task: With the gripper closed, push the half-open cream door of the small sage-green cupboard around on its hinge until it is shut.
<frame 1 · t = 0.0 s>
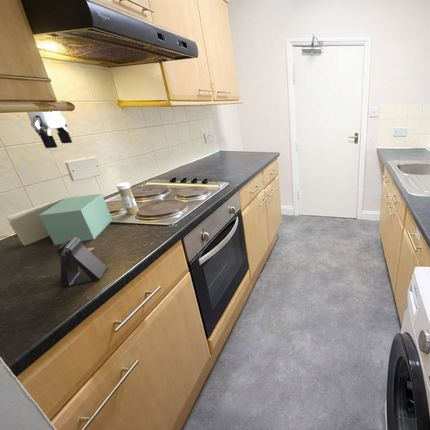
hand: (59, 145, 96), 31 cm above the worktop, tool pointing down, fingers open, 9 cm apart
cabinet door: (42, 220, 99), point 6 cm above the worktop, hinge at 35.0°
sprinkles bottle: (133, 213, 118), on the worktop
phone stand: (86, 278, 76), on the worktop
cabinet: (86, 231, 102), on the worktop
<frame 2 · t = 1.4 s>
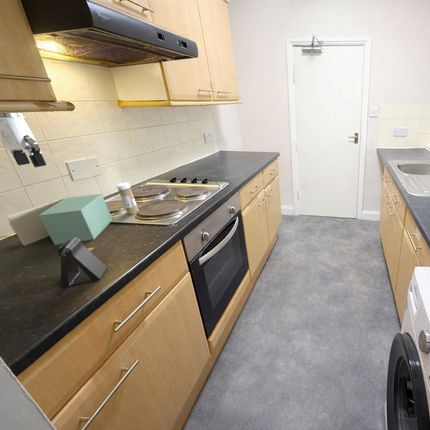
hand: (32, 165, 94), 26 cm above the worktop, tool pointing down, fingers open, 9 cm apart
nothing on the worktop moved.
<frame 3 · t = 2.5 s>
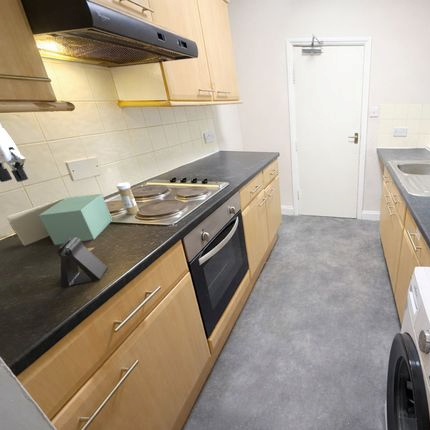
hand: (14, 180, 93), 21 cm above the worktop, tool pointing down, fingers open, 5 cm apart
nothing on the worktop moved.
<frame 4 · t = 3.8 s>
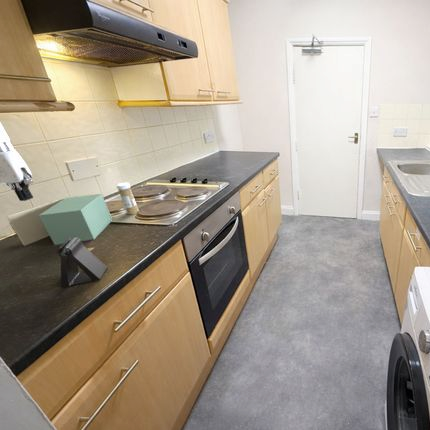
hand: (27, 199, 96), 14 cm above the worktop, tool pointing down, fingers closed
nothing on the worktop moved.
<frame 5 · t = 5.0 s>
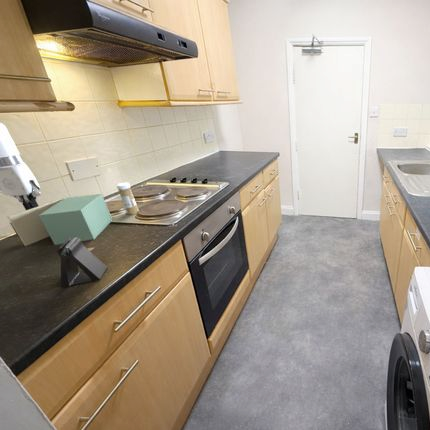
hand: (34, 211, 96), 10 cm above the worktop, tool pointing down, fingers closed
cabinet door: (42, 220, 99), point 6 cm above the worktop, hinge at 32.9°, touching gripper
everything else where it was.
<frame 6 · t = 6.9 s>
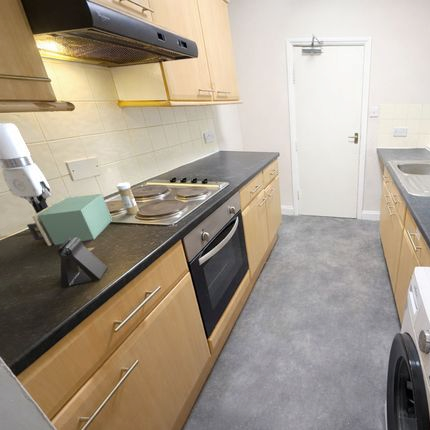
hand: (43, 212, 95), 10 cm above the worktop, tool pointing down, fingers closed
cabinet door: (51, 221, 98), point 6 cm above the worktop, hinge at 2.8°, touching gripper
everything else where it was.
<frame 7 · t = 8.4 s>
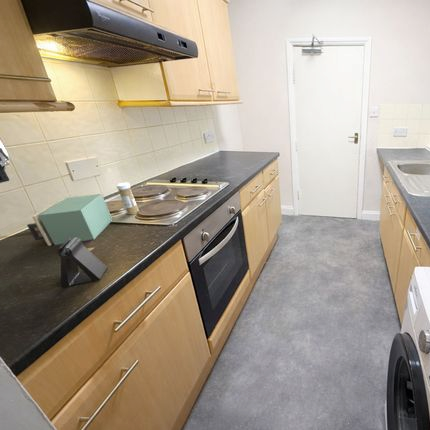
hand: (2, 181, 93), 21 cm above the worktop, tool pointing down, fingers closed
cabinet door: (51, 221, 98), point 6 cm above the worktop, hinge at 2.8°
everything else where it was.
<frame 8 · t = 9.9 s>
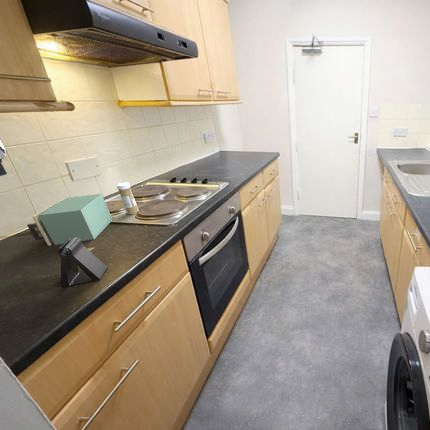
hand: (0, 175, 93), 23 cm above the worktop, tool pointing down, fingers closed
nothing on the worktop moved.
at the end: cabinet door at +3° (first picture: +35°); phone stand moved 0.2 cm from its start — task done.
